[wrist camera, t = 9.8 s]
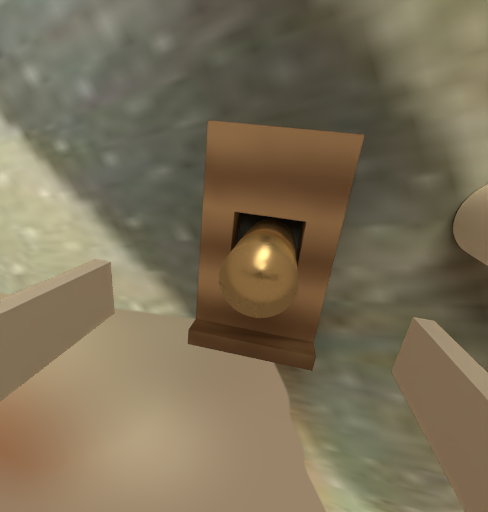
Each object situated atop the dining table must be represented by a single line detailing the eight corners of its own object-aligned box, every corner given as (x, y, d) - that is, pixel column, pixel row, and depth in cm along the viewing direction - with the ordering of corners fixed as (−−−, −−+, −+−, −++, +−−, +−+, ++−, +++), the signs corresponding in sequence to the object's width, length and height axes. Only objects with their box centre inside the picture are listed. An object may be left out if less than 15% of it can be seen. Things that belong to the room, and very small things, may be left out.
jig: (218, 128, 22) (199, 113, 17) (353, 141, 20) (373, 128, 16) (204, 316, 28) (187, 343, 23) (307, 337, 27) (312, 370, 22)
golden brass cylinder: (247, 215, 24) (222, 237, 14) (298, 222, 23) (306, 250, 14) (242, 262, 25) (215, 309, 16) (289, 270, 25) (290, 324, 15)
